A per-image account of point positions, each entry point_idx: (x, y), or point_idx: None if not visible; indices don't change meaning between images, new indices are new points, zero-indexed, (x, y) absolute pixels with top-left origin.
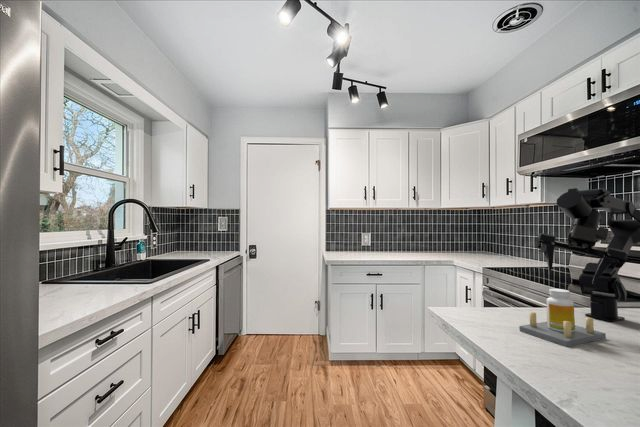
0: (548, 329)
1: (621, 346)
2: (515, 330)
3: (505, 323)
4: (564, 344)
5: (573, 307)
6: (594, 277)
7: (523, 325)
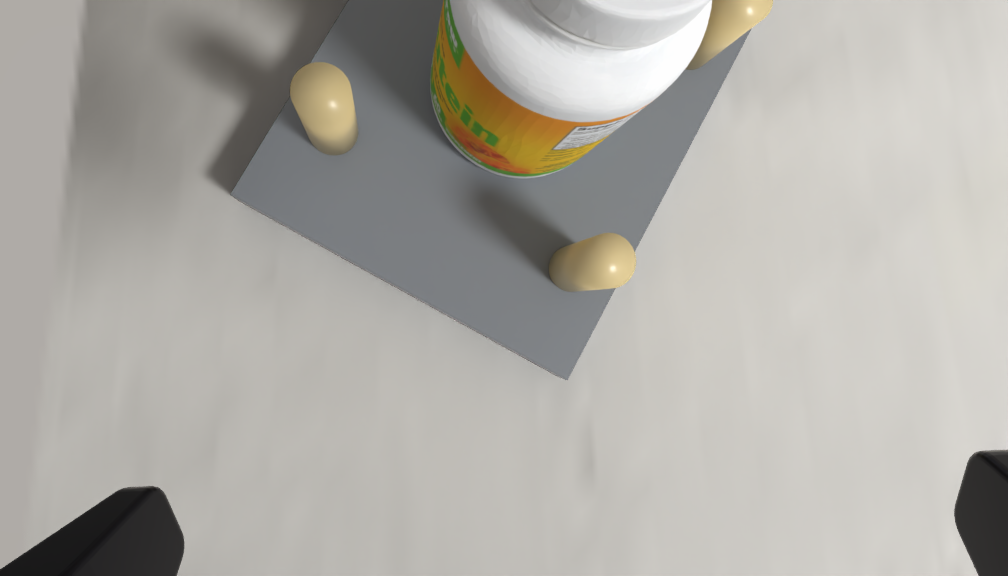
0: None
1: (154, 58)
2: None
3: (853, 146)
4: None
5: None
6: (75, 566)
7: (748, 30)
